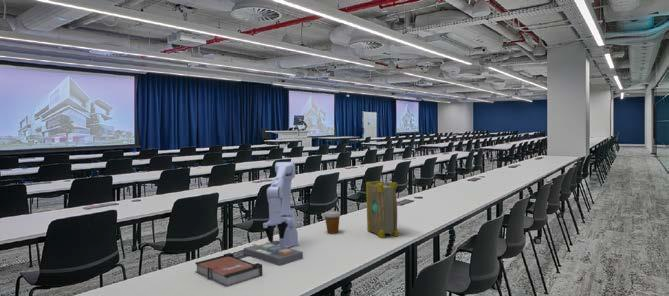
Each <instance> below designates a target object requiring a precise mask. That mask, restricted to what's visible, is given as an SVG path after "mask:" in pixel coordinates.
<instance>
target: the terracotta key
mask: <svg viewBox="0 0 669 296" xmlns="http://www.w3.org/2000/svg"><path fill="white" fill-rule="evenodd" d="M290 249H291V248H290ZM290 249H282V250H279V251H278V254H279V255H283V256H286V255H290V254H293V250H290Z"/></svg>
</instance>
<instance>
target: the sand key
mask: <svg viewBox="0 0 669 296" xmlns="http://www.w3.org/2000/svg"><path fill="white" fill-rule="evenodd" d="M263 245H267V243H265V242H264V241H259V242H255V243H253V246H254V247H255V248H259V249H260V248H261V246H263Z"/></svg>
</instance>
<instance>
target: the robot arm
mask: <svg viewBox="0 0 669 296" xmlns="http://www.w3.org/2000/svg"><path fill="white" fill-rule="evenodd" d="M274 171H275V173H276V176H275V177H274V178H273V179H272V182H271V184H270V186H268V187H267V189H266V197H267V203H268V215H269V217H268V218H269V219H268V221H267V222H263V223H262V227H263V231H264V232H265V234H266V237H267V241H268V243H273V241H274V233H275V232H274V231H275V227H276V229H277V230H278V237H279V239H278V240H279V241H278V242H279V243H278V244H277V245H279V246H283V247H287V248H291V247H295V246H299V245H300V244H299V239H298V238H299V236H298V235H299V234H298V233H299V232H298V230H297V229H298V228H296V224H297V220H296V213H295V212H294V211H292V210H291V203H292V201H291V198H292V197H291V195H292V179H294V178H295V177H296V163H295V162H294V161H276V162H275V163H274ZM273 226H275V227H273Z"/></svg>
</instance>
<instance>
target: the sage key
mask: <svg viewBox="0 0 669 296" xmlns="http://www.w3.org/2000/svg"><path fill="white" fill-rule="evenodd" d="M272 244H273V243H272ZM272 244H267V245H263V246H261V249H262V250H265V251H269V248H272V247H275V245H276V244H275V245H272Z"/></svg>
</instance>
